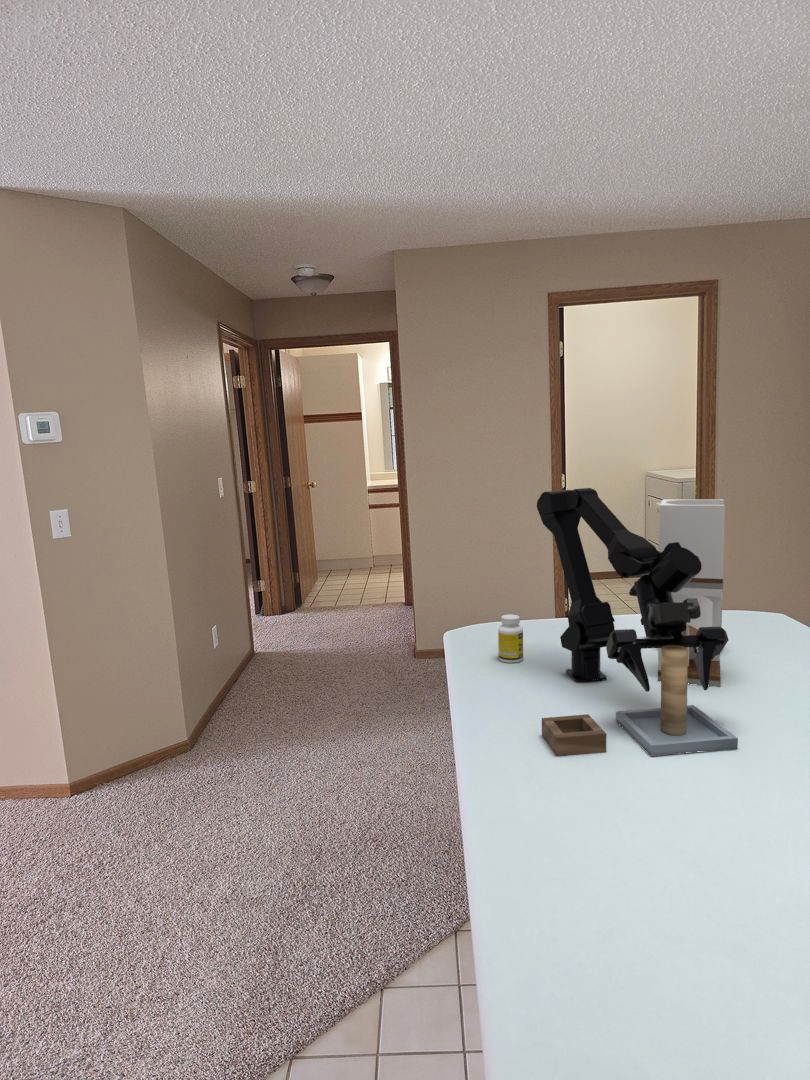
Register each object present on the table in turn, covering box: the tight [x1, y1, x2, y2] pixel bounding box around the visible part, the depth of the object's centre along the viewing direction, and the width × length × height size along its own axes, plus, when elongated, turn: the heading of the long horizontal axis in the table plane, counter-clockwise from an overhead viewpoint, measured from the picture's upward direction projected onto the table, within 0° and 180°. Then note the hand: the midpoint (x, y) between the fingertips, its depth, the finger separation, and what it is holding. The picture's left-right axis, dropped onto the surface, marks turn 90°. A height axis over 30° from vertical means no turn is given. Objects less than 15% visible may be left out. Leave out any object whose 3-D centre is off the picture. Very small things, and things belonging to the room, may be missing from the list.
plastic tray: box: [615, 704, 739, 757], centre depth 121 cm, size 14×14×2 cm
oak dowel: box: [660, 645, 688, 736], centre depth 119 cm, size 4×4×14 cm
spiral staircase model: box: [657, 498, 726, 688], centre depth 145 cm, size 11×11×35 cm
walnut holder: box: [541, 713, 607, 757], centre depth 119 cm, size 8×8×3 cm
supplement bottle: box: [497, 614, 524, 664], centre depth 162 cm, size 5×5×10 cm
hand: (677, 689), depth 118 cm, fingers open, 9 cm apart
